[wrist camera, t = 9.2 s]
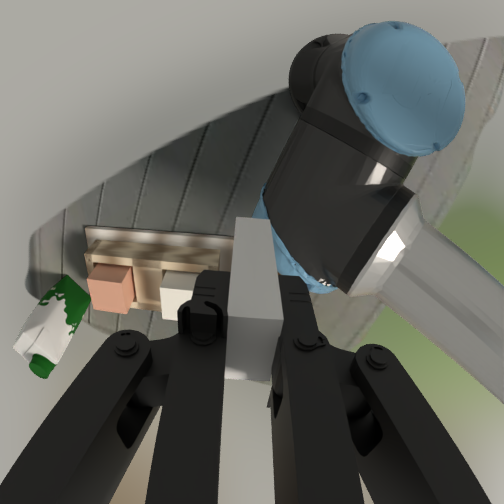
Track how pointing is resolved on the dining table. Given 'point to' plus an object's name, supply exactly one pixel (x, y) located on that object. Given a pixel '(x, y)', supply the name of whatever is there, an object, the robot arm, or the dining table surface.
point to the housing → (156, 256)
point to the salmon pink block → (112, 287)
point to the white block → (176, 291)
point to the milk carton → (52, 326)
